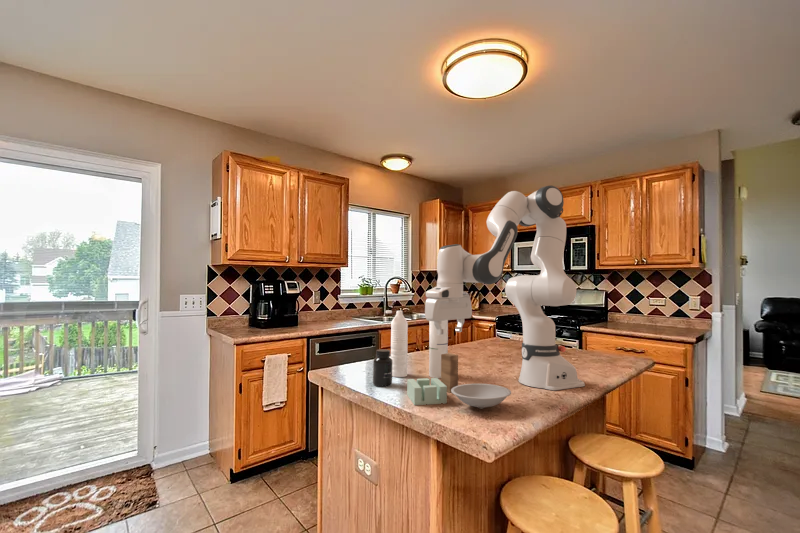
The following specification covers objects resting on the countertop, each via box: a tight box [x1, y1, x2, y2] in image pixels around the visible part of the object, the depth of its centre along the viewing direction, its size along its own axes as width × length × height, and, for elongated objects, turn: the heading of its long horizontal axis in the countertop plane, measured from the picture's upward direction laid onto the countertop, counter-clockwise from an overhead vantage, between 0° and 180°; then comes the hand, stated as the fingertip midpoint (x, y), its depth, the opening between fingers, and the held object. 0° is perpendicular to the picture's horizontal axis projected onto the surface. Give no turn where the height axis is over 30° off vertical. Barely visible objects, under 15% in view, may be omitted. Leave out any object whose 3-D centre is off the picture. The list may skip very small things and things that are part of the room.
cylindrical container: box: [428, 320, 449, 379], centre depth 145 cm, size 7×7×25 cm
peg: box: [440, 352, 459, 394], centre depth 126 cm, size 4×4×12 cm
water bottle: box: [385, 309, 409, 378], centre depth 145 cm, size 9×6×25 cm
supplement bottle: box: [372, 348, 393, 388], centre depth 132 cm, size 7×7×12 cm
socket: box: [406, 377, 448, 406], centre depth 117 cm, size 10×10×5 cm
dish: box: [451, 383, 512, 409], centre depth 109 cm, size 18×14×5 cm
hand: (449, 333), depth 126 cm, fingers open, 8 cm apart
